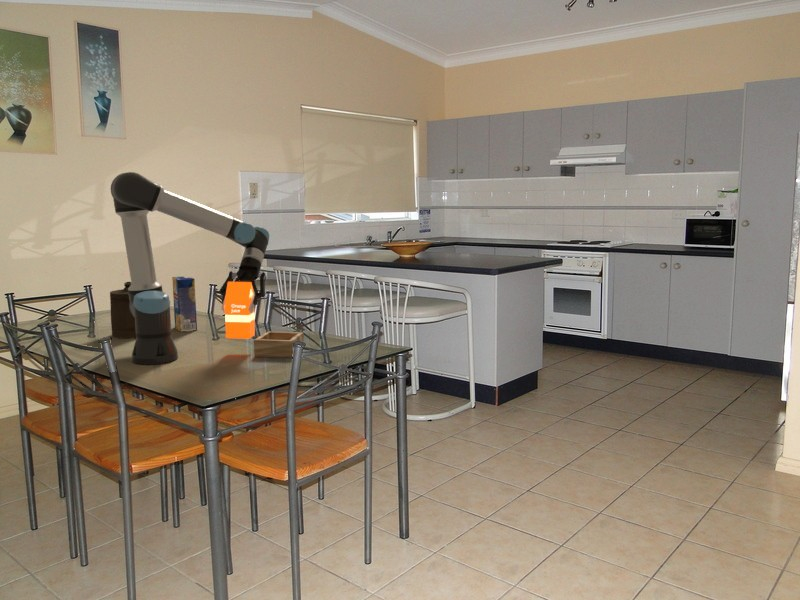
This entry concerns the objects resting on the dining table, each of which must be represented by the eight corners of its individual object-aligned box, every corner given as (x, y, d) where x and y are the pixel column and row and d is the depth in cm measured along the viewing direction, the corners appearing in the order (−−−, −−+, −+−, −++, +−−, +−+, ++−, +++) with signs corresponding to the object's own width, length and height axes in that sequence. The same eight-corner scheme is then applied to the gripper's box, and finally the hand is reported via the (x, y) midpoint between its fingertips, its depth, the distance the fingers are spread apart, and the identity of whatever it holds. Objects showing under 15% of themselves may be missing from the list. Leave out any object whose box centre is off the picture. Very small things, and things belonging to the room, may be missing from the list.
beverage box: (191, 326, 295) (188, 276, 291) (197, 330, 285) (194, 278, 282) (175, 327, 291) (172, 277, 288) (180, 332, 282) (177, 279, 278)
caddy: (292, 357, 238) (292, 341, 237) (254, 356, 240) (253, 340, 239) (304, 348, 253) (303, 332, 252) (268, 347, 254) (267, 331, 253)
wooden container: (156, 331, 284) (153, 279, 280) (142, 338, 269) (138, 284, 266) (121, 331, 284) (118, 279, 281) (105, 338, 270) (101, 284, 266)
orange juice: (249, 338, 241) (249, 283, 238) (225, 338, 241) (224, 283, 238) (255, 334, 249) (254, 280, 246) (231, 333, 249) (230, 280, 246)
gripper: (282, 269, 255) (269, 318, 242) (226, 267, 258) (210, 315, 245) (277, 256, 249) (263, 305, 236) (220, 255, 252) (204, 303, 239)
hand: (236, 310), depth 240 cm, fingers closed on orange juice, 9 cm apart
